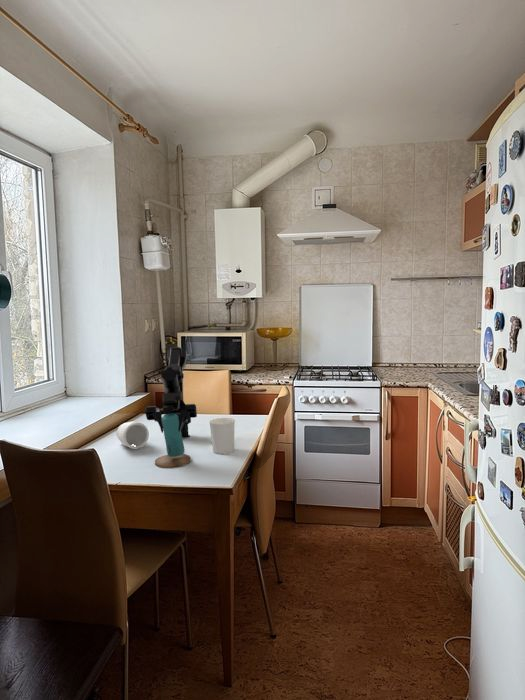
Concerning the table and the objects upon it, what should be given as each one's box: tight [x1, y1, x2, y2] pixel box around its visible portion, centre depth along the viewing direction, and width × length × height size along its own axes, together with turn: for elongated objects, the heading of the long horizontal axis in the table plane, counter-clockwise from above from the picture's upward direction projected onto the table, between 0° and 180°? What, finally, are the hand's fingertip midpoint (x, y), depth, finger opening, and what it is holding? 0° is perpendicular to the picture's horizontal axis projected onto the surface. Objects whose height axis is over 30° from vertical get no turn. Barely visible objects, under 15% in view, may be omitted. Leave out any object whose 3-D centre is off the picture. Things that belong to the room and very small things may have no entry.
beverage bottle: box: [161, 405, 186, 457], centre depth 172 cm, size 6×7×20 cm
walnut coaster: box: [154, 453, 192, 469], centre depth 173 cm, size 13×13×1 cm
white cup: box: [209, 417, 236, 455], centre depth 184 cm, size 10×10×12 cm
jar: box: [116, 421, 150, 450], centre depth 195 cm, size 11×10×15 cm
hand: (170, 431), depth 171 cm, fingers closed on beverage bottle, 6 cm apart
